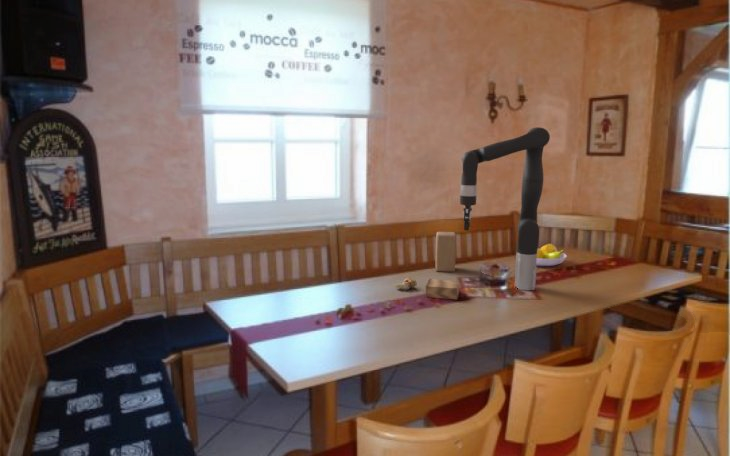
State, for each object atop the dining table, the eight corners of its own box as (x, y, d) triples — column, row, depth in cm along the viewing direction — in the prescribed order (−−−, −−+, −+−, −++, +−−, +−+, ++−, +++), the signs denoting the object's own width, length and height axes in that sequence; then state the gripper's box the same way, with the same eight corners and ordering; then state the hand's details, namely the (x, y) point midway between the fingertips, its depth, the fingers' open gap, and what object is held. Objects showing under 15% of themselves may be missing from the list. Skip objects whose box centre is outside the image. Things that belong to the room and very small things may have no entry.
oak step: (458, 291, 244) (459, 280, 243) (457, 299, 232) (457, 287, 231) (428, 289, 247) (429, 278, 246) (425, 296, 236) (425, 285, 235)
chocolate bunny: (416, 291, 249) (398, 296, 244) (407, 281, 254) (390, 286, 250) (418, 282, 246) (400, 287, 241) (409, 272, 251) (391, 277, 247)
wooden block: (453, 267, 287) (455, 231, 283) (454, 272, 277) (456, 235, 274) (435, 266, 288) (436, 231, 284) (435, 271, 278) (437, 234, 274)
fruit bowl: (509, 258, 308) (510, 239, 306) (553, 257, 311) (554, 239, 309) (529, 271, 281) (530, 250, 279) (577, 270, 284) (578, 249, 282)
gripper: (476, 196, 237) (474, 231, 240) (477, 193, 251) (475, 226, 254) (459, 196, 239) (457, 230, 242) (461, 192, 253) (459, 225, 256)
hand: (466, 228), depth 248 cm, fingers open, 8 cm apart
